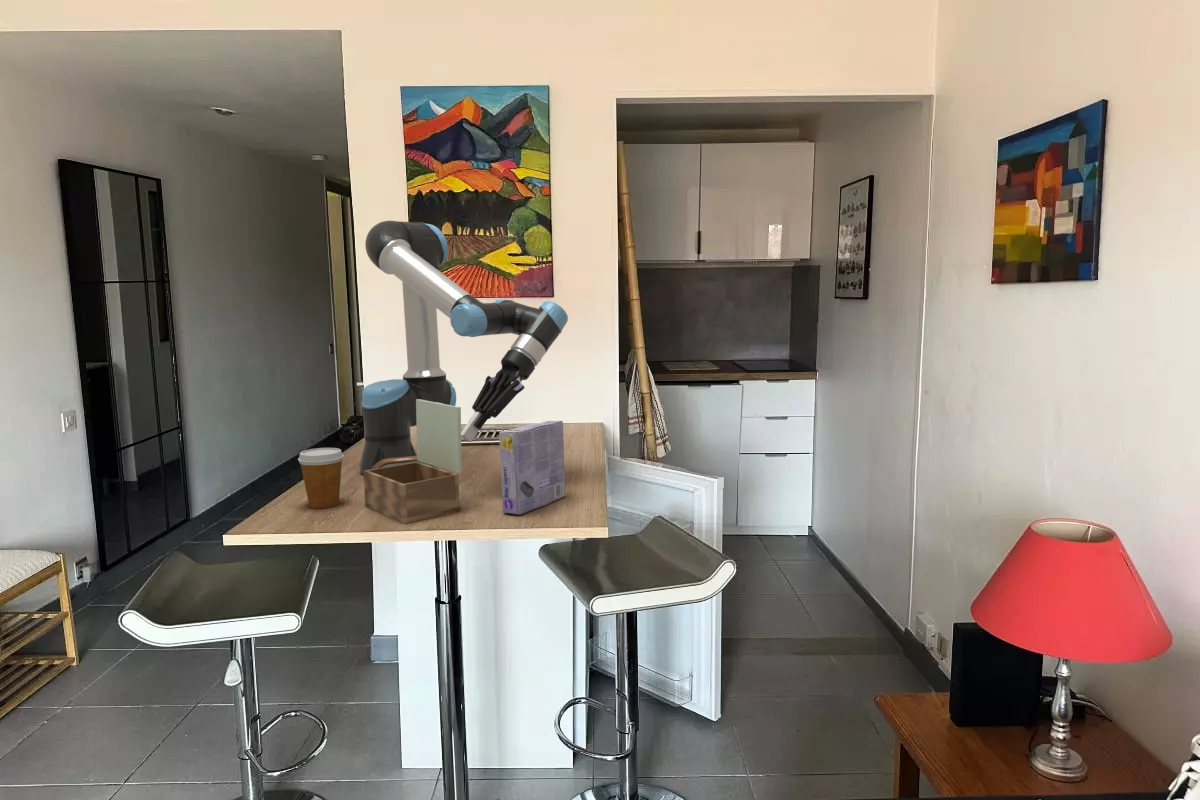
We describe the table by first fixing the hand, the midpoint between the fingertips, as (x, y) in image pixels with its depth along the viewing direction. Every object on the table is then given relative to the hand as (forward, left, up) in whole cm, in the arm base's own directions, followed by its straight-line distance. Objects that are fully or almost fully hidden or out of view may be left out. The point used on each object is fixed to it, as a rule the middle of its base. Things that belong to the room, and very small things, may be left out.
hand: (465, 438), depth 177 cm
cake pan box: (+15, +8, -14) cm, 22 cm away
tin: (-15, -8, -14) cm, 22 cm away
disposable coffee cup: (-18, -26, -14) cm, 34 cm away
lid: (-1, -7, +2) cm, 7 cm away
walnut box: (-1, -13, -14) cm, 19 cm away
